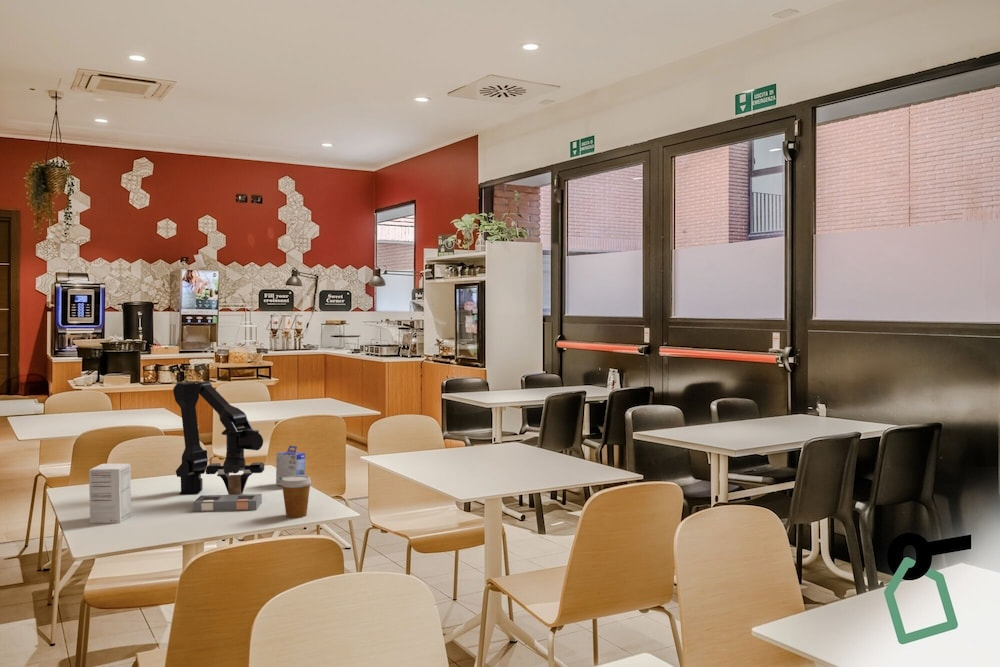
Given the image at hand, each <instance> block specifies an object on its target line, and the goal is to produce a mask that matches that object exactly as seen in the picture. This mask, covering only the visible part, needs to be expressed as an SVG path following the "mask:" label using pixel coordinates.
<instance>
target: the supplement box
mask: <svg viewBox="0 0 1000 667" xmlns="http://www.w3.org/2000/svg"><path fill="white" fill-rule="evenodd" d="M131 474H132V470H131V463H101V464H99V465H97V466H96V465H95V466H94V467H93V468H90V469H89V470H88V476H89V478H88V481H89V524H121V523H122V522H124V521H125V520H126V519H128V518H129V517H131V516H132V488H131V486H132V485H131Z"/></svg>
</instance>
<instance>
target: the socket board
mask: <svg viewBox="0 0 1000 667" xmlns="http://www.w3.org/2000/svg"><path fill="white" fill-rule="evenodd" d="M262 498H263V495H262V493H251V494H250V493H249V494H248V493H247V494H246V493H245V494H244V493H243V494H238V495H228V494H209V495H206V494H204V495H203V494H202V495H199V496H198V497H197V498H196V499H195V500H194V501H192V512H223V511H224V512H225V511H227V512H229V511H233V510H234V511H257V510H258V508H260V506H261V505H262V504H263V501H262V500H263V499H262Z"/></svg>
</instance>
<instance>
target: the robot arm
mask: <svg viewBox="0 0 1000 667" xmlns="http://www.w3.org/2000/svg"><path fill="white" fill-rule="evenodd" d="M172 393H173V397H174V401H175V402H176V404H177V405H178V406H179V408H180V412H181V422H182V429H183V430H182V431H183V439H184V447H185V448H184V450H183V451H182V452H183V453H182V455H181V464H180V465H179V466H178V468H176V470H175V474H176V477H177V478H180V492H179V495H191V494H193V495H194V494H196V495H197V494H200V492H202V491H203V488H204V487H203V478H202V475H203V474H205V475H215V474H216V475H217V477H219V478H221V479H222V481H223V483H224V485H225V489H226V492H228V477H229V476H230V474H238V473H239V472H240V471H243V472H242V474H241V475H242V485H241V493H243V494H244V491H245V487H246V485H247V481H248V479H249V477H250V476H252V475H253V474H261V473H263V472H264V471H265V463H264V462H261V461H260V462H259V461H256V462H252V463H251V464H246V459H245V450H249V451H259V450H260V449H262V447H263V444H264V438H263V436H262V434H260V433H259V432H260V431H259V430H258V429H254V428H253V427H252V424H251V422H250V420H249V419H248V418H247V414H246V413H245V412H244V411H242V410H241V409H240V408H238V407H235V406H233V405H231V404H230V403H229V402H228V401H227V400H226V399H225V398H224V397H223V396H222V394H220V392H219V391H217V389H215V388H214V386H213V385H212V383H211V382H209V381H207V380H206V381H198V382H194V381H187V382H185V381H184V382H178V383H176V384H175V386H174V387H173V392H172ZM200 397H202V398H203V399H204V401H206V402H207V404H208V405H209V406H211V408H212V409H213V410H214V411H215V412H216V413H217V414H218V416H219V421H220V423H221V425H222V426H223V427H224V428H225V429H224V430H223V431H222V432H221V435H223V436H224V435H225V436H226V444H225V445H226V452H225V453H226V454H225V459H224V461H223V463H222V462H221V463H222V464H223V465H222V464H221V463H220V462H218V463H216V462H214V463H212V462H211V463H209V464H208V462H209V458H208V450H207V449H203V447H202V446H201V443H200V436H199V435H200V433H199V424H198V417H197V409H196V408H197V407H196V406H197V403H198V401H199V399H200Z"/></svg>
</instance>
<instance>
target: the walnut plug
mask: <svg viewBox="0 0 1000 667" xmlns="http://www.w3.org/2000/svg"><path fill="white" fill-rule="evenodd" d="M241 485H242V474H229V477H228V491H227V493H228V494H227V495H238V494H244V492H243V493H241Z"/></svg>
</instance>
